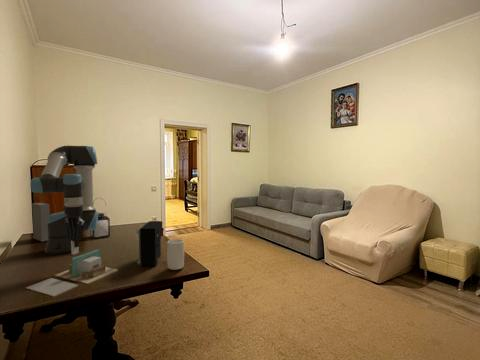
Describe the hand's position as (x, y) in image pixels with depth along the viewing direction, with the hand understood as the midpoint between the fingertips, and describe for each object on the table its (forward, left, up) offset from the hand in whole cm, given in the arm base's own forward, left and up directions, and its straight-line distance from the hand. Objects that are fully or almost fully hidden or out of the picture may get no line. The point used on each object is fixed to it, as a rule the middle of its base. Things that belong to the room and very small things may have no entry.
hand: (75, 253), depth 127 cm
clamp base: (+8, 0, -9) cm, 12 cm away
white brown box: (+8, 0, -8) cm, 11 cm away
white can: (+44, +21, -9) cm, 50 cm away
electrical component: (+25, +25, -9) cm, 36 cm away
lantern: (-44, +50, -9) cm, 67 cm away
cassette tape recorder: (-73, +28, -9) cm, 79 cm away
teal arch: (+8, 0, -9) cm, 12 cm away
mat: (+8, -16, -9) cm, 20 cm away
